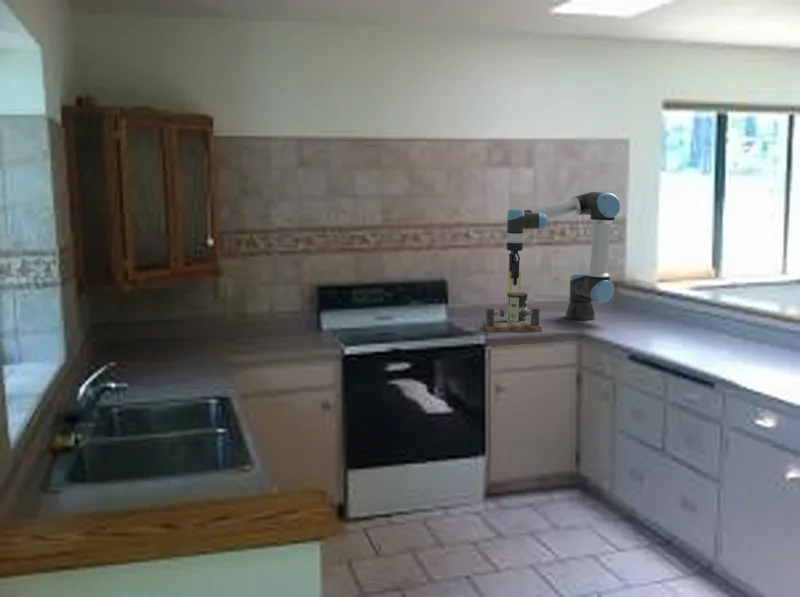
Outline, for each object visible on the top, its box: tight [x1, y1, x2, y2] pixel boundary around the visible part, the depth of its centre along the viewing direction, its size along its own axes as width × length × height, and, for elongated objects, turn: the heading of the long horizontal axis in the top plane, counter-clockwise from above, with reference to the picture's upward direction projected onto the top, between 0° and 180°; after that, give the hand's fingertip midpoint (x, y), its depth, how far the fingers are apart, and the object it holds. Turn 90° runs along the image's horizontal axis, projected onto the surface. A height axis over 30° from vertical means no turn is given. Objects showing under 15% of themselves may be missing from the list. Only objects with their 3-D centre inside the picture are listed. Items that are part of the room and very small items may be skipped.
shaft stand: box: [483, 307, 543, 333], centre depth 384 cm, size 26×11×10 cm, turn 93°
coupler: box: [505, 270, 522, 294], centre depth 381 cm, size 6×4×10 cm
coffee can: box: [506, 292, 529, 323], centre depth 403 cm, size 10×10×14 cm
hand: (513, 290), depth 382 cm, fingers closed on coupler, 4 cm apart
